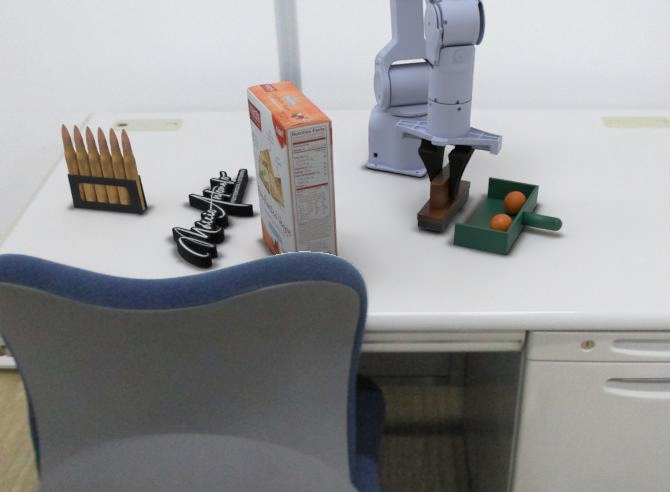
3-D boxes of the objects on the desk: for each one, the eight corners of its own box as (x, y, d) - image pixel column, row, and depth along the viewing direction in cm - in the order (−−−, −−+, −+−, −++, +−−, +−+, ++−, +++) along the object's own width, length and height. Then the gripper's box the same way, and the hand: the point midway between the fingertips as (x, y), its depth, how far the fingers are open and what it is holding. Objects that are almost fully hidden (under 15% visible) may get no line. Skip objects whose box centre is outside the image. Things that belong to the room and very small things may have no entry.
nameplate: (237, 257, 106) (159, 257, 106) (239, 268, 107) (161, 268, 107) (262, 168, 127) (197, 168, 128) (263, 178, 128) (198, 177, 129)
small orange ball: (495, 245, 113) (482, 226, 112) (502, 235, 115) (489, 216, 114) (514, 235, 111) (501, 215, 110) (520, 225, 113) (507, 206, 112)
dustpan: (453, 244, 112) (454, 223, 110) (487, 196, 124) (489, 176, 122) (546, 262, 109) (549, 241, 107) (573, 211, 120) (576, 191, 118)
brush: (416, 228, 115) (417, 188, 111) (446, 191, 124) (448, 153, 120) (441, 232, 114) (443, 193, 110) (469, 195, 123) (472, 157, 119)
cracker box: (260, 241, 113) (243, 85, 100) (301, 233, 115) (291, 78, 101) (295, 291, 103) (282, 125, 90) (340, 281, 105) (334, 116, 92)
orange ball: (518, 221, 118) (498, 212, 118) (524, 212, 120) (504, 203, 121) (526, 202, 116) (505, 193, 116) (532, 193, 118) (511, 184, 118)
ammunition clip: (148, 208, 120) (132, 127, 113) (142, 214, 119) (126, 132, 111) (79, 201, 122) (59, 121, 114) (73, 207, 121) (53, 126, 113)
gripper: (387, 99, 108) (386, 196, 117) (494, 115, 104) (485, 215, 112) (406, 82, 113) (404, 177, 122) (510, 96, 109) (500, 194, 117)
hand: (444, 194), depth 117 cm, fingers closed on brush, 2 cm apart
